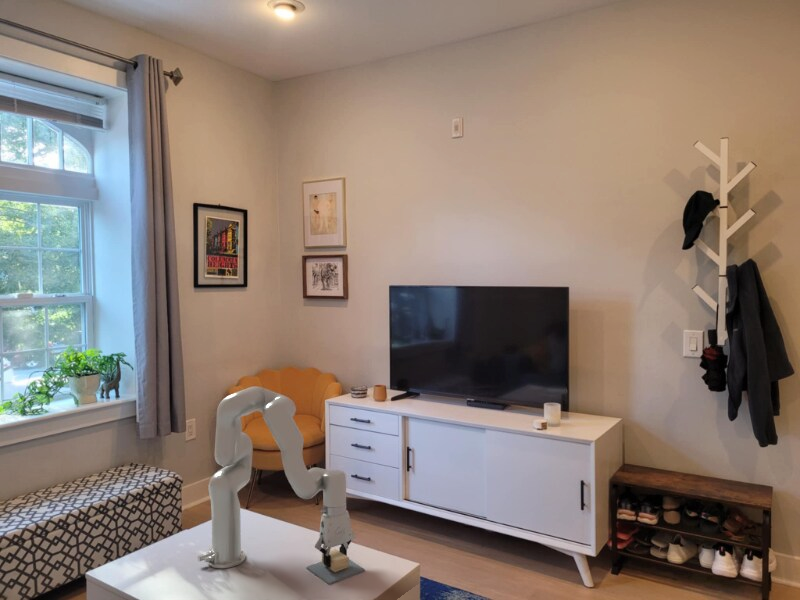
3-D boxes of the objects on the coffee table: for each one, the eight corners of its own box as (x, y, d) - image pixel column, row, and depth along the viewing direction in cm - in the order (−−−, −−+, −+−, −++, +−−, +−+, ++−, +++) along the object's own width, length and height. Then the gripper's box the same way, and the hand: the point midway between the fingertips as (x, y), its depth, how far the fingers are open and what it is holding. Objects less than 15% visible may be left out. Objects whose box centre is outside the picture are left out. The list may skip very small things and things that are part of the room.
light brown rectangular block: (321, 563, 195) (321, 553, 195) (335, 558, 198) (335, 548, 198) (334, 572, 189) (334, 562, 188) (348, 566, 192) (348, 557, 192)
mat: (329, 584, 184) (328, 583, 184) (306, 568, 194) (306, 566, 194) (364, 571, 192) (364, 569, 192) (341, 556, 203) (341, 554, 203)
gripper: (318, 519, 185) (319, 575, 185) (362, 506, 196) (362, 559, 196) (306, 512, 190) (306, 566, 191) (349, 499, 201) (350, 551, 202)
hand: (335, 562), depth 193 cm, fingers closed on light brown rectangular block, 5 cm apart
